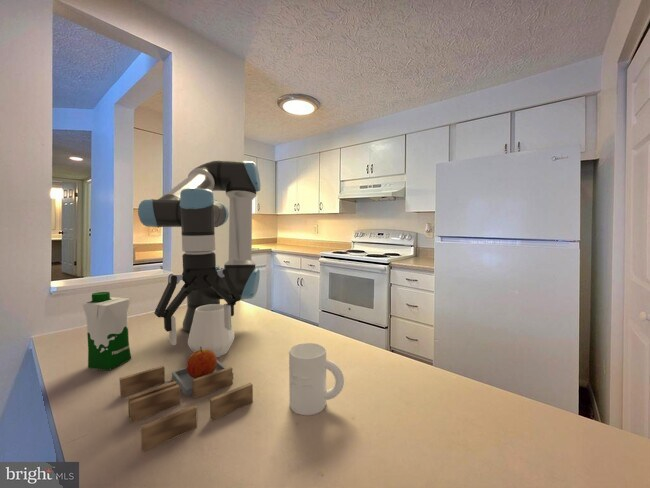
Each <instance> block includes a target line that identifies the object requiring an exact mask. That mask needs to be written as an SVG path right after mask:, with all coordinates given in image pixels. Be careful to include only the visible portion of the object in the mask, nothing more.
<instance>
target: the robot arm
mask: <svg viewBox="0 0 650 488" xmlns="http://www.w3.org/2000/svg"><path fill="white" fill-rule="evenodd" d="M213 191H214V192H215V191H218V192H220V191H221V192H225V196H226V197H227V198H229V206H228V207H229V209H228V207H227V206H226V204H224V203H222V202H221V201H219V200H217V199H215V198H214V192H213ZM260 191H261V180H260V173H259V170H258V166H257V164H256V162H254V161H251V160H249V161H248V160H212V161H209V162H206V163H203V164H201V165H199V166H197V167H195V168H193V169H192V170H191V171H190V172H189V173H188V176H187V178H185V179H183V180H182V181H181V182H180V183H178V184H177V185H176V186H174V187H173V188H171V189H170V190H169V191H167V192H166V193H165V194H163V195H162V196H161V197H159V198H158V199H154V198H151V199H144V200H142V201H140V203H139V204H138V206H137V216H138V219H139V221H140V223H141V224H142V225H143V226H145V227H147V228H148V227H150V228H181V251H182V252H184V253H183V254H182V256H181V257H182V274H173V273H171V274H170V273H169V275H168V278H167V279H168V281H167V284H166V286H165V288H164V290H163V293H162V296H161V298H160V300H159V302H158V304H157V305H156V308H155V311H154V312H153V313H154V315H155V316H156V317H158V318H163V325H164V326H163V328H164V329H165V331H166V332H168V333H169V335H168V336H169V343H170V344H171V345H172V346H175V345H177V326H176V324H177V322H176V317H175V316H174V314H176V313H175V312H177V310H178V309H179V307H180V306H181V304H182V303H183V302H184V301H185V299H186V303H187V305H186V306H187V307H186V312H185V315H184V317H183V321H182V330H183V332H187V333H190V330H191V326H192V321H193V317H194V313H195V310H196V308H198V307H200V306H203V305H209V304H221V300H223V301H224V302H225V303H223V305H224V327H225V328H226V329H228V330H231V325H232V317H234V315H235V306H236V304H237V302H240V301H241V300H250V299H253V298H254V297H255V296H256V295H257V292H258V289H259V286H260V285H259V284H260V275H261V274H260V269H259V268H257V267H256V263H255V262H254V261H253V260H252V251H253V250H252V249H253V248H252V243H253V241H252V239H253V237H252V234H253V231H252V230H253V200H254V199H255V198H256V197H257V192H260ZM228 219H229V220H228ZM227 221H228V223H229V225H228V229H229V230H228V260H227V261H226V262H225V263H224V265H223V267H220V265H218V264H217V260H216V257H217V256H216V253H215V252H214V251H215V250H216V237H215V236H216V235H215V234H216V233H215V232H216V231H215V228H218V227H220V226H223V225H225V223H226V222H227ZM180 281H182V282H183V283H184V284H183V285H182V286H181V288H180V291H179V292H178V293H177V294H176V296H175V297H174V298H173V299H172V297H173V295H174V292H175V290H176V288H177V285H178V284H180ZM171 299H172V301H171ZM170 301H171V302H170Z"/></svg>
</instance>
